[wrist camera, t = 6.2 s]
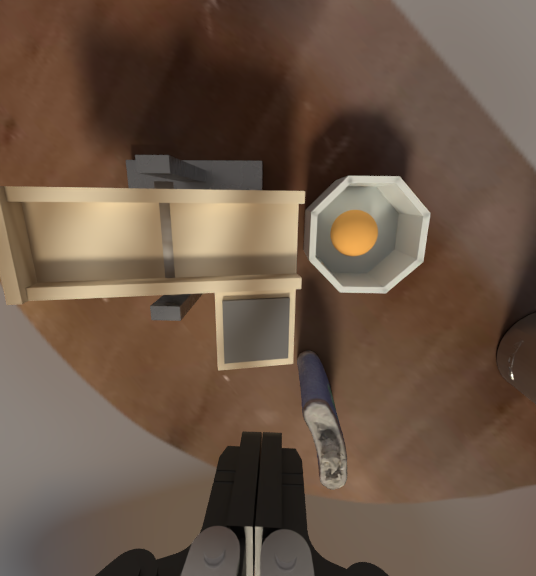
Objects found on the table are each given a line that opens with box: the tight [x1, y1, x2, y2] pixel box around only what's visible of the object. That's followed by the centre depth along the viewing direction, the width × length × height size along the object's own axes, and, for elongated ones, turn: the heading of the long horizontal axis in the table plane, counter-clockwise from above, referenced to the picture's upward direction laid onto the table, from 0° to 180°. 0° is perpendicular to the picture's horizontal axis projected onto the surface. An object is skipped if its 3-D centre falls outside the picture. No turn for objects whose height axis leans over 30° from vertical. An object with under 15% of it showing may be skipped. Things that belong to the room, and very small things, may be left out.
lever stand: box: [126, 155, 263, 321], centre depth 25 cm, size 12×12×11 cm
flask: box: [297, 351, 347, 490], centre depth 29 cm, size 9×3×11 cm, turn 15°
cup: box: [303, 176, 431, 293], centre depth 27 cm, size 9×9×6 cm
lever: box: [0, 181, 305, 370], centre depth 21 cm, size 18×14×3 cm
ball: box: [330, 210, 378, 256], centre depth 27 cm, size 4×4×4 cm
